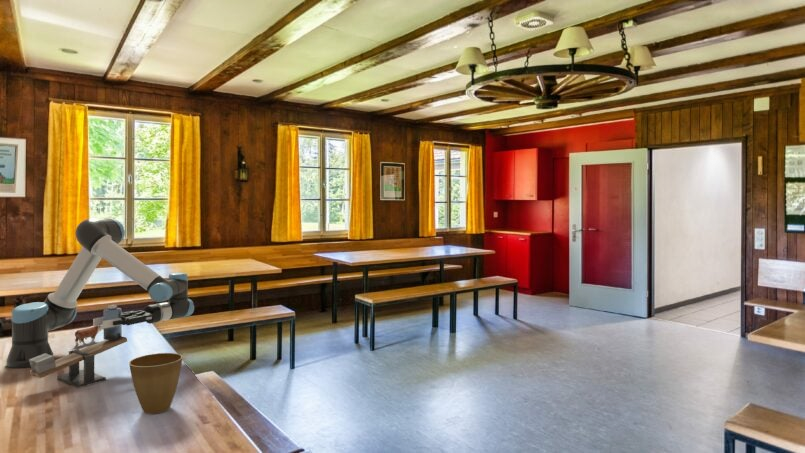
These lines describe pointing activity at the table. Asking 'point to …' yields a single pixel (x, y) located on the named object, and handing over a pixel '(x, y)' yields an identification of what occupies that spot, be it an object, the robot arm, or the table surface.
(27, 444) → the table surface
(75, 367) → the stand
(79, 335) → the bull figurine
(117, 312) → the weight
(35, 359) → the beam
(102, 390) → the table surface
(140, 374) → the plant pot
